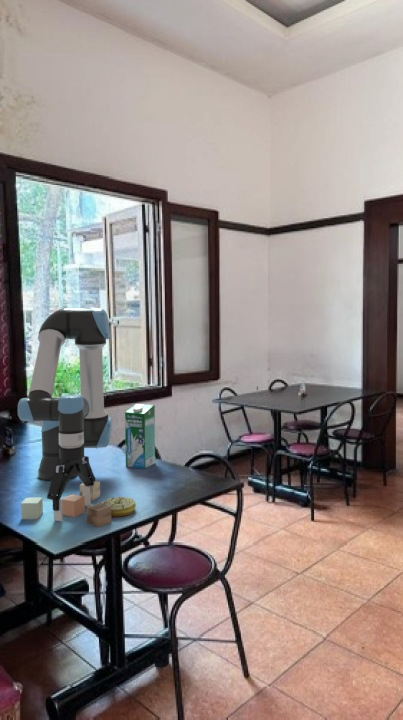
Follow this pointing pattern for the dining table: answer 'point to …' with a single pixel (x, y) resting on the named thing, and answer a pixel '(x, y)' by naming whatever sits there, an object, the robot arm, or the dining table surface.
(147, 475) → the dining table surface
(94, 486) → the beech cube
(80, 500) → the terracotta cube
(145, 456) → the milk carton
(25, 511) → the sage cube
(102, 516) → the walnut cube
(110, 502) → the decorated donut
